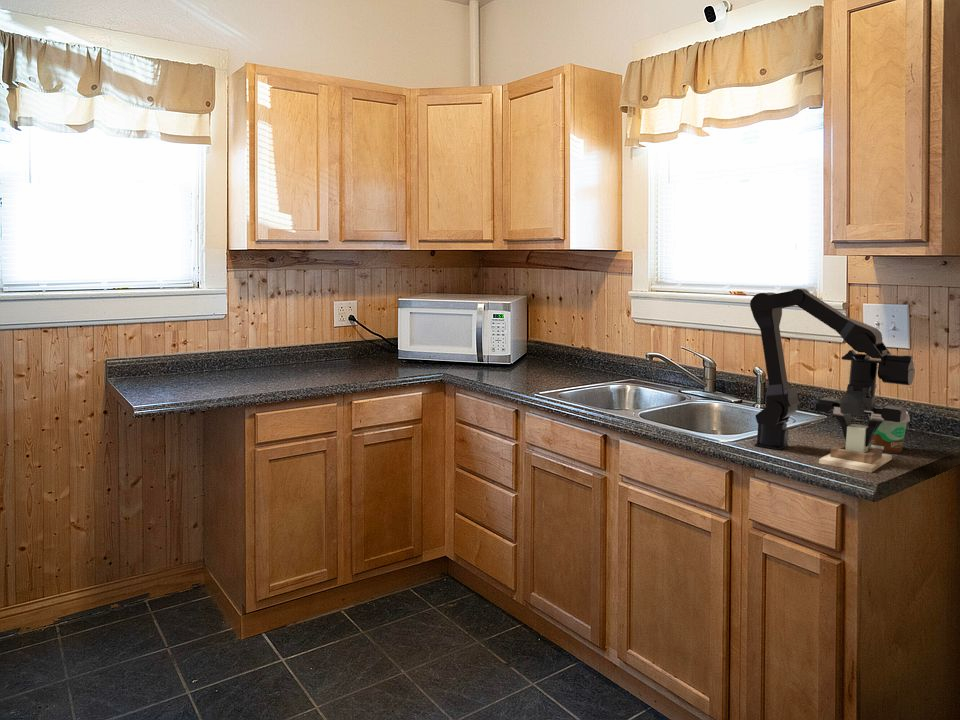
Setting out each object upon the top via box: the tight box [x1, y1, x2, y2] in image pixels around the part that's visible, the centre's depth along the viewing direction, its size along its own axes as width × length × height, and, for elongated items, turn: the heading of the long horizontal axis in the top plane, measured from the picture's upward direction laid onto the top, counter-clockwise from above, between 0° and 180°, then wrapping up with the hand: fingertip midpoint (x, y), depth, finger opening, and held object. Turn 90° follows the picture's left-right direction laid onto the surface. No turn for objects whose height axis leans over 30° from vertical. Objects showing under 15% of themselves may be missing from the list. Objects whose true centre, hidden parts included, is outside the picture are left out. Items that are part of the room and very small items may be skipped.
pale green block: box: [845, 423, 870, 453], centre depth 186 cm, size 4×4×6 cm
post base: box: [818, 442, 893, 474], centre depth 187 cm, size 12×17×3 cm
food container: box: [870, 410, 911, 454], centre depth 197 cm, size 12×6×10 cm, turn 126°
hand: (857, 444), depth 186 cm, fingers closed on pale green block, 4 cm apart
